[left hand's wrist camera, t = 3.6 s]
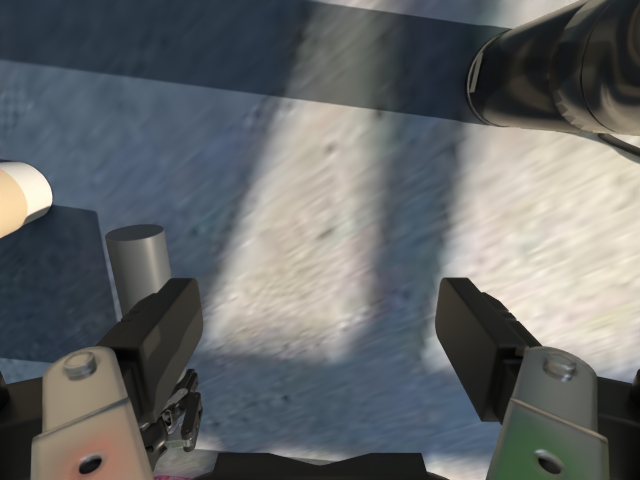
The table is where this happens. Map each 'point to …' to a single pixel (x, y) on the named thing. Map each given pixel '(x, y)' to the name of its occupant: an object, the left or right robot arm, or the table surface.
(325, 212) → the table surface
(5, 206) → the coffee cup
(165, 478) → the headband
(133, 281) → the cylinder
